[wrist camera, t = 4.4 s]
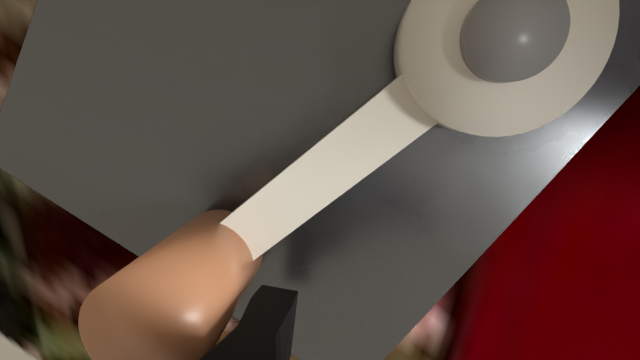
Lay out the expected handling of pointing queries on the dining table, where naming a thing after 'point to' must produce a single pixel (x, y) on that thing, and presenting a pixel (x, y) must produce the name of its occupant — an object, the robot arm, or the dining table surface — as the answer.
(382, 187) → the lock base
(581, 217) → the dining table surface
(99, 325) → the lever
